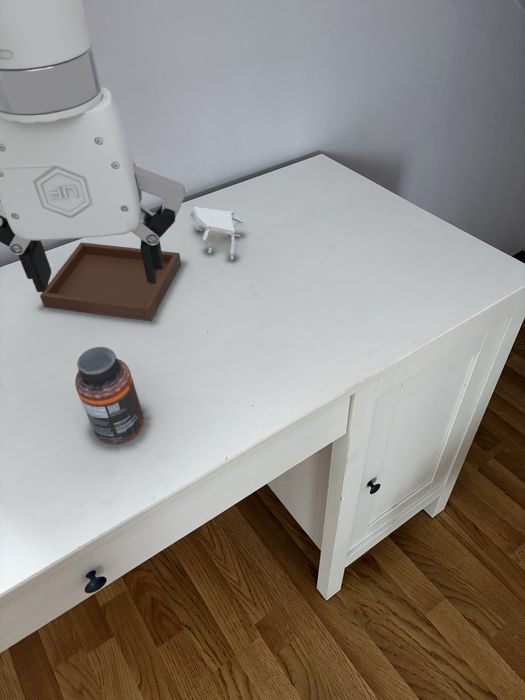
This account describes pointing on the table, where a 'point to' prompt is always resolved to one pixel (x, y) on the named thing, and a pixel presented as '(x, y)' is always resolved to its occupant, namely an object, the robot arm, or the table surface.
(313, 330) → the table surface
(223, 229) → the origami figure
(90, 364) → the supplement bottle
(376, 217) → the table surface
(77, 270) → the serving tray
